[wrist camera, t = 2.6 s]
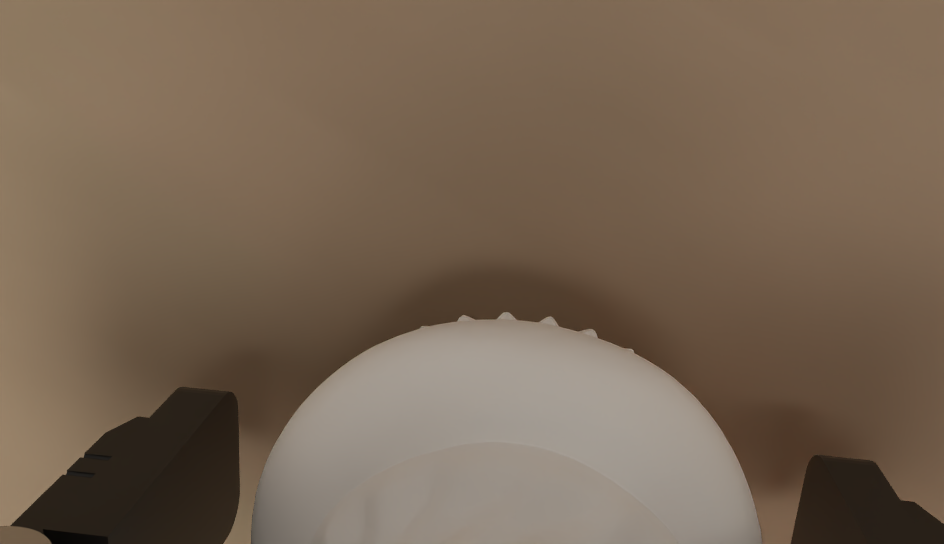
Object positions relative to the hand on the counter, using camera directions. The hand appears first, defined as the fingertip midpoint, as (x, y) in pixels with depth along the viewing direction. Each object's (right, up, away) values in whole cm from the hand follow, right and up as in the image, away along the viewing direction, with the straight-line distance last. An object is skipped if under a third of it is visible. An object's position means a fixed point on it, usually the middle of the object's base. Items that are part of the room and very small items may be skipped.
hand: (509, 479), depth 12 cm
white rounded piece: (0, +1, +2) cm, 2 cm away
